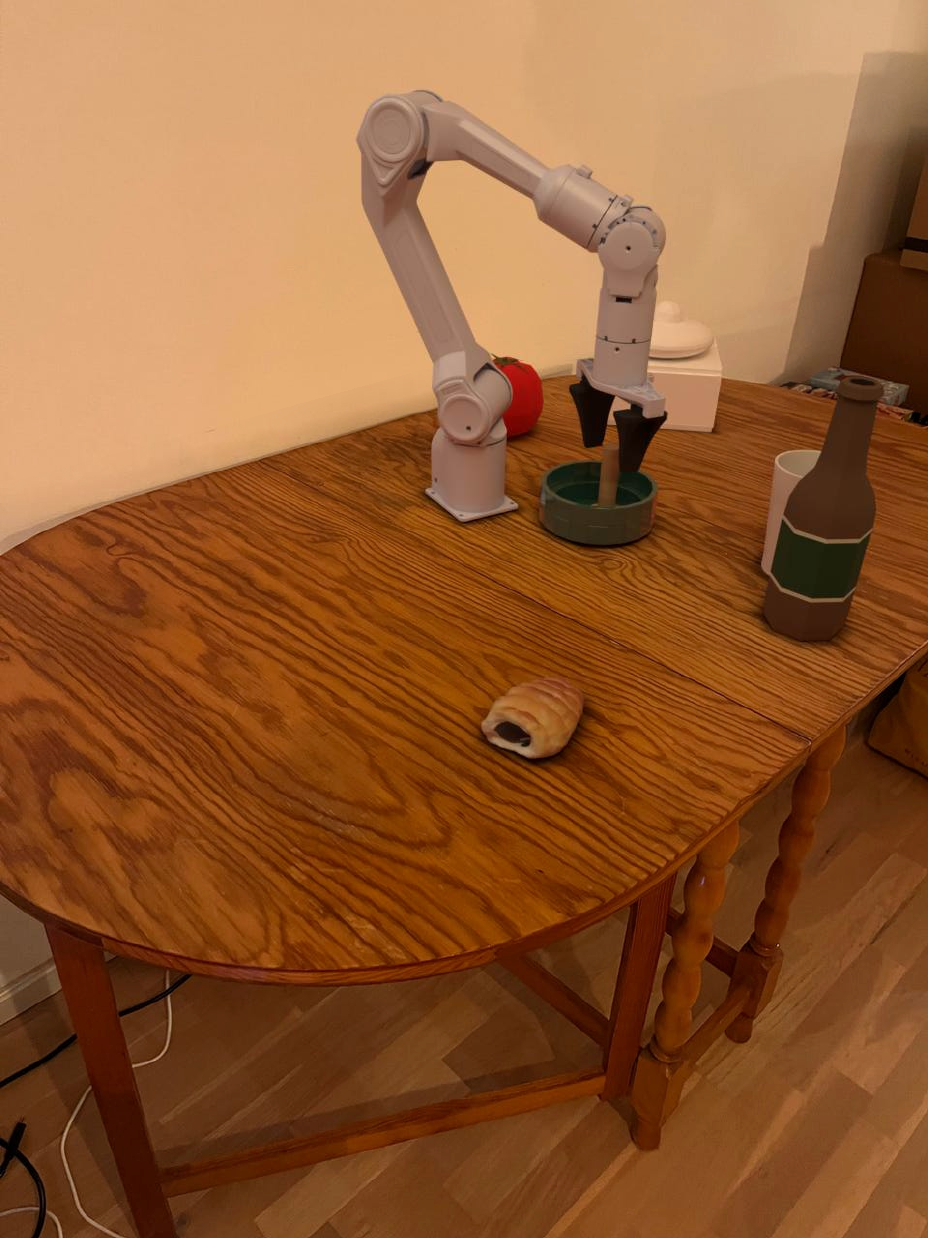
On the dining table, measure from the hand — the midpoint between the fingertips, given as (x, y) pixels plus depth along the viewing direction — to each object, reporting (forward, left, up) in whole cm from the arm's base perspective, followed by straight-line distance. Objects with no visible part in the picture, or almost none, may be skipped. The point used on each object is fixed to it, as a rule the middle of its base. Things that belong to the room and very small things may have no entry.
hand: (610, 458), depth 102 cm
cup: (+18, +11, -8) cm, 23 cm away
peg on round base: (0, 0, -8) cm, 8 cm away
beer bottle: (+26, +4, -8) cm, 28 cm away
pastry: (+27, -28, -8) cm, 40 cm away
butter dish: (-28, +30, -8) cm, 42 cm away
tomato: (-31, +4, -8) cm, 32 cm away
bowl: (-1, -1, -8) cm, 8 cm away
